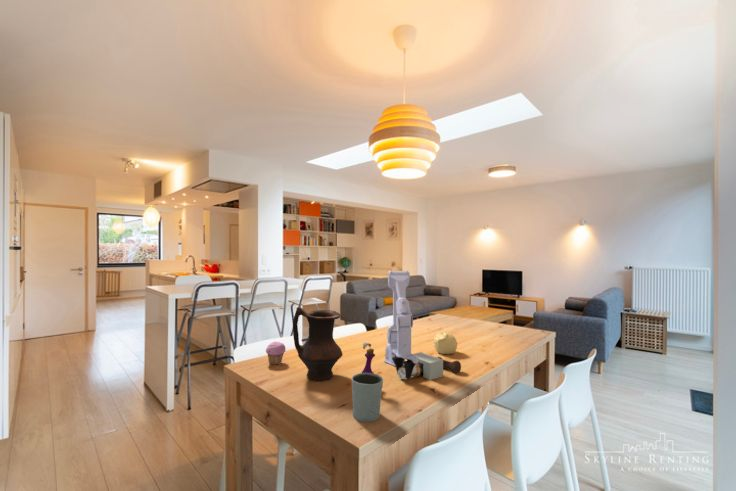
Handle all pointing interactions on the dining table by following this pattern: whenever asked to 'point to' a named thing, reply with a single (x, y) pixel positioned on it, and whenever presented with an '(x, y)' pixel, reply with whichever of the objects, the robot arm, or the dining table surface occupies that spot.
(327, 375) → the jug
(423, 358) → the block
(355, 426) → the dining table surface
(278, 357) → the cupcake
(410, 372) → the robot arm
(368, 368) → the perfume bottle
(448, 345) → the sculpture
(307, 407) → the dining table surface
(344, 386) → the dining table surface
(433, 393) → the dining table surface
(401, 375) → the silver copper cylinder
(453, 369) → the bolt
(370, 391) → the grey-green cup
